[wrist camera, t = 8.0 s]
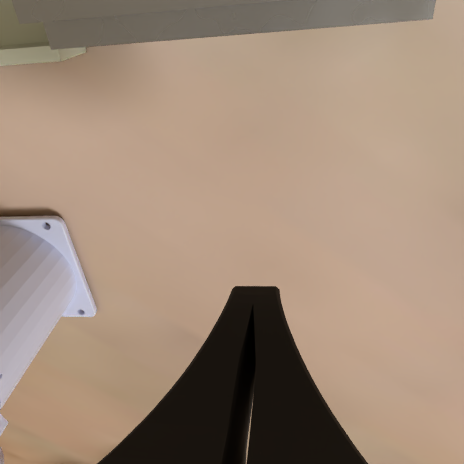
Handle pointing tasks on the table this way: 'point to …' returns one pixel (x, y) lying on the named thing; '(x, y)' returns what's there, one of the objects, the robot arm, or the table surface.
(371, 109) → the table surface
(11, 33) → the tray
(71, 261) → the robot arm
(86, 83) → the table surface
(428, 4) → the rail
